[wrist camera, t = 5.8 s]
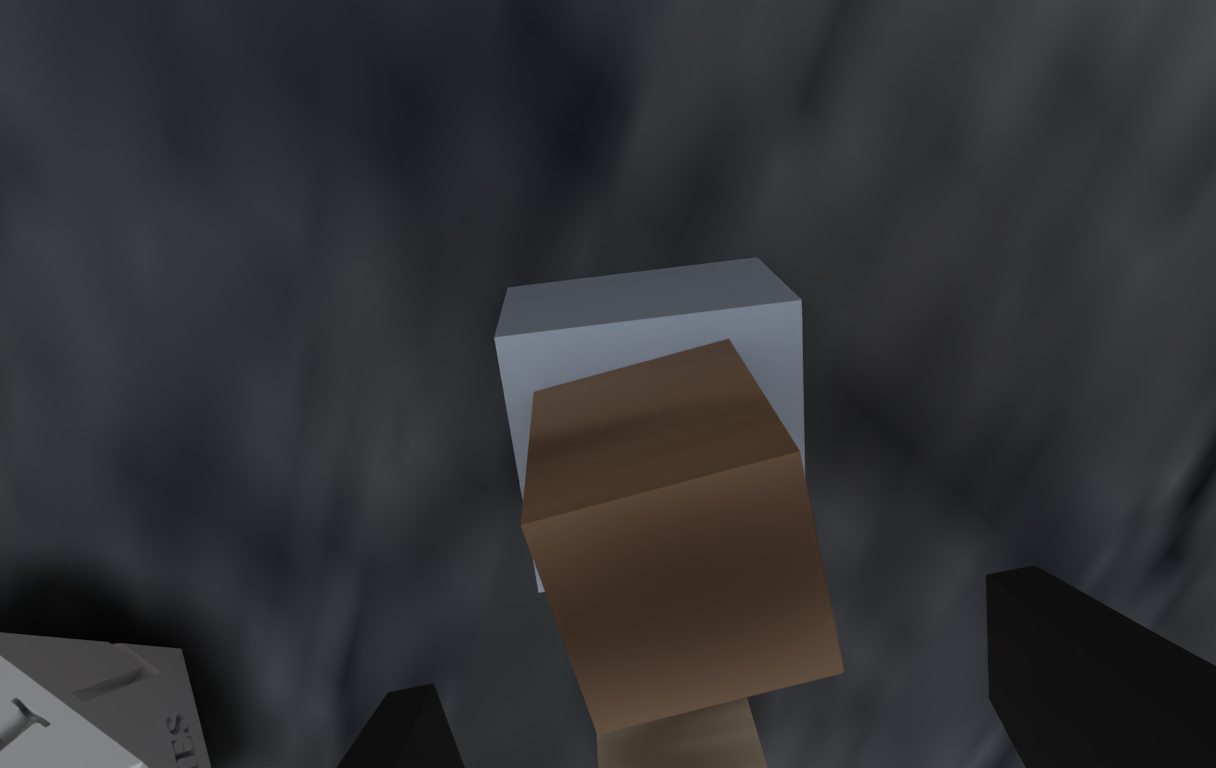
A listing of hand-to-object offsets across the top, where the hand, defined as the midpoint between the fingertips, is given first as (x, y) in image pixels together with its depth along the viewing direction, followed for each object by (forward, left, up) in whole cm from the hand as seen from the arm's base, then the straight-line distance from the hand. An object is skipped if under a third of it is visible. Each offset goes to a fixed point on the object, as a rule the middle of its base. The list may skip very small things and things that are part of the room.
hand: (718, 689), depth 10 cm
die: (+17, +6, -11) cm, 21 cm away
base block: (0, 0, -11) cm, 11 cm away
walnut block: (0, 0, -7) cm, 7 cm away
